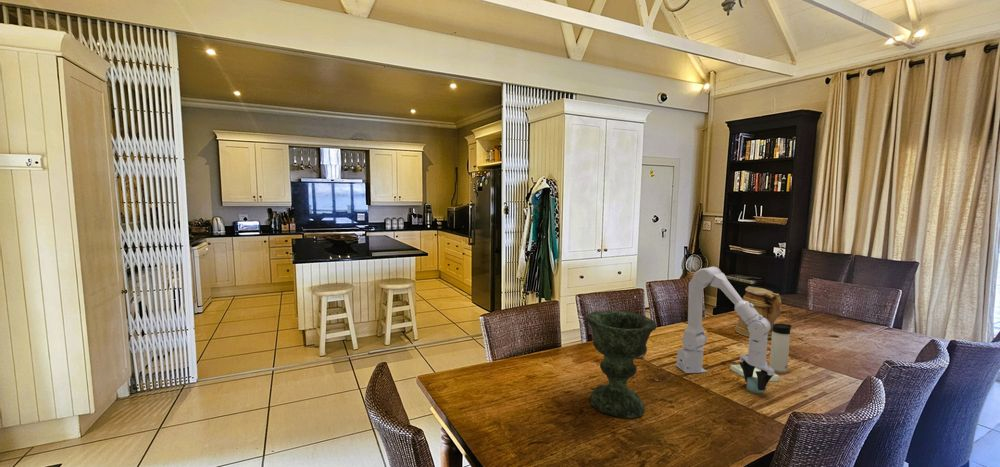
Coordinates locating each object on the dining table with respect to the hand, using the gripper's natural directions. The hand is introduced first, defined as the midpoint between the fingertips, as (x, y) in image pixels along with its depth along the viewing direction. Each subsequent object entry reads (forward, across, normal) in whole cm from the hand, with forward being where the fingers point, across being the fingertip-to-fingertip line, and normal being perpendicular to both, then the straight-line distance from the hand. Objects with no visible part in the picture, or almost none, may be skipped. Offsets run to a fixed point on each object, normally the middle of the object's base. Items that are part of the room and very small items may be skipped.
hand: (754, 385), depth 152 cm
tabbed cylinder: (+2, 0, 0) cm, 2 cm away
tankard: (+2, +57, -51) cm, 77 cm away
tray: (+2, +12, -10) cm, 16 cm away
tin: (+2, +35, +33) cm, 48 cm away
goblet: (+2, -5, +57) cm, 57 cm away
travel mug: (+2, +15, -24) cm, 28 cm away
